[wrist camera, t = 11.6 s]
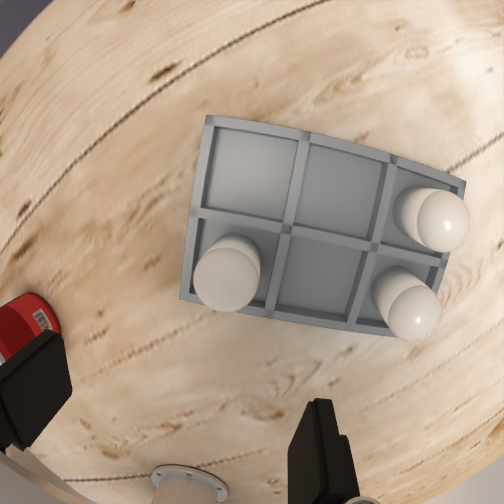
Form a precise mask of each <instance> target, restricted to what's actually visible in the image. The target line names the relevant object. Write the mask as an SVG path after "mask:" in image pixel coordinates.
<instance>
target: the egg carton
mask: <svg viewBox="0 0 504 504" xmlns="http://www.w3.org/2000/svg"><path fill="white" fill-rule="evenodd" d="M411 186H419V187H426V188H432V189H439V190H445V191H449V192H452V193H454V194H455V195H457V196H458V197H459V198H460V199H461V200H462V201H463V198H464V193H465V187H466V181H464V180H462V179H459V178H457V177H454V176H452V175H449V174H447V173H444V172H442V171H439V170H436V169H434V168H431V167H428V166H425V165H423V164H420V163H417V162H414V161H411V160H408V159H405V158H402V157H399V156H396V155H393V154H390V153H387V152H384V151H380V150H377V149H374V148H370V147H367V146H363V145H360V144H356V143H352V142H348V141H345V140H341V139H337V138H333V137H329V136H325V135H320V134H316V133H312V132H307V131H302V130H298V129H293V128H288V127H283V126H278V125H272V124H267V123H261V122H255V121H248V120H242V119H235V118H228V117H220V116H212V115H206V119H205V124H204V129H203V134H202V140H201V145H200V151H199V156H198V162H197V168H196V174H195V180H194V186H193V193H192V199H191V206H190V213H189V220H188V227H187V235H186V243H185V251H184V259H183V268H182V277H181V286H180V296H179V300H184V301H188V302H192V303H197V304H201V305H205V304H204V303H203V302H202V301H201V300H200V299H199V297H198V296H197V294H196V292H195V289H194V284H193V275H194V270H195V267H196V265H197V263H198V262H199V260H200V259H201V258H202V256H203V255H204V254H205V253H206V251H207V250H208V249H209V248H210V247H211V245H212V244H213V243H214V242H215V241H216V240H217V239H218V238H219V237H221V236H223V235H226V234H231V233H237V234H242V235H245V236H247V237H249V238H250V239H251V240H253V241H254V242H255V244H256V245H257V246H258V248H259V250H260V253H261V269H260V277H259V284H258V289H257V292H256V294H255V296H254V298H253V299H252V300H251V301H250V303H249V304H247V305H246V306H245V307H243V308H242V309H240V310H237V311H235V312H240V313H245V314H250V315H255V316H260V317H266V318H271V319H276V320H282V321H288V322H293V323H299V324H305V325H311V326H318V327H324V328H331V329H337V330H344V331H351V332H358V333H366V334H373V335H381V336H390V337H397V336H396V335H395V334H394V333H393V332H392V331H391V329H390V328H389V326H388V325H387V323H386V322H385V320H384V319H383V317H382V316H381V314H380V313H379V311H378V310H377V309H376V307H375V306H374V304H373V302H372V300H371V295H370V292H371V286H372V283H373V281H374V279H375V278H376V277H377V275H378V274H379V273H380V272H382V271H383V270H384V269H386V268H388V267H392V266H401V267H404V268H406V269H407V270H409V271H410V272H411V273H412V274H413V275H415V276H416V277H417V278H418V279H420V280H421V281H422V282H423V283H424V284H426V285H427V286H428V287H429V288H430V289H431V290H432V291H433V292H434V293H435V294H436V295H437V292H438V289H439V286H440V283H441V280H442V277H443V274H444V271H445V268H446V265H447V262H448V258H449V255H450V252H445V253H441V252H436V251H433V250H431V249H429V248H427V247H425V246H424V245H422V244H420V243H418V242H416V241H414V240H413V239H411V238H409V237H407V236H405V235H403V234H402V233H401V232H400V231H399V230H398V229H397V227H396V226H395V224H394V221H393V216H392V209H393V204H394V201H395V199H396V197H397V196H398V194H399V193H400V192H401V191H402V190H404V189H405V188H408V187H411Z"/></svg>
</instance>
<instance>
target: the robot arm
mask: <svg viewBox="0 0 504 504" xmlns="http://www.w3.org/2000/svg"><path fill="white" fill-rule="evenodd" d="M71 394H72V385H71V380H70V375H69V370H68V364H67V359H66V353H65V346H64V341H63V339H62V338H61V335H60V334H59V333H57V332H55V331H52V330H50V329H45V330H44V331H43V332H41V333H40V334H39V335H38V336H36V337H35V338H34V339H33V340H31V341H30V342H29V343H27V344H26V345H25V346H24V347H22V348H21V349H20V350H19V351H18V352H16V353H15V354H14V355H13V356H11V357H10V358H9V359H8V360H7V361H5V362H4V363H3V364H2V365H1V366H0V504H88V503H86V502H84V501H82V500H80V499H78V498H76V497H74V496H72V495H70V494H68V493H66V492H64V491H62V490H60V489H59V488H57V487H55V486H53V485H52V484H50V483H48V482H46V481H44V480H43V479H41V478H40V477H38V476H36V475H35V474H33V473H31V472H30V471H28V470H27V469H25V468H24V467H22V466H21V465H19V464H18V463H16V462H15V461H13V460H12V459H11V456H10V447H9V446H10V445H11V444H13V445H14V446H16V447H17V448H18V449H20V450H21V451H24V449H25V448H26V447H30V446H31V445H32V444H33V442H34V441H35V440H36V439H37V437H38V436H39V435H40V433H41V432H42V431H43V430H44V428H45V427H46V426H47V425H48V423H49V422H50V421H51V420H52V418H53V417H54V416H55V415H56V413H57V412H58V411H59V410H60V408H61V407H62V406H63V405H64V404H65V402H66V401H67V400H68V399H69V397H70V396H71ZM151 481H152V483H153V485H154V486H155V487H156V488H157V490H156V492H155V495H154V498H153V501H152V504H219V503H221V502H223V501H225V500H226V498H227V495H228V489H227V487H226V485H225V484H224V483H223V482H222V481H220V480H219V479H217V478H216V477H214V476H212V475H210V474H208V473H205V472H203V471H200V470H197V469H193V468H189V467H184V466H176V465H166V466H160V467H157V468H156V469H154V471H153V472H152V475H151ZM288 504H381V503H379V502H378V501H377V500H375V499H373V498H370V497H364V496H361V497H360V492H359V487H358V482H357V477H356V472H355V468H354V463H353V458H352V454H351V449H350V445H349V440H348V438H347V436H346V435H339V431H338V426H337V422H336V417H335V412H334V407H333V403H332V400H331V399H321V398H315V399H314V401H313V402H311V401H309V402H308V404H307V406H306V409H305V411H304V413H303V416H302V418H301V420H300V423H299V425H298V427H297V430H296V432H295V434H294V436H293V439H292V441H291V443H290V445H289V448H288Z"/></svg>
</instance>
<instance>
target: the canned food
mask: <svg viewBox="0 0 504 504" xmlns="http://www.w3.org/2000/svg"><path fill="white" fill-rule="evenodd" d="M45 329H50V330H52V331H55V332H57V333H59V334H60V327H59V323H58V321H57V318H56V316H55V314H54V312H53V311H52V309H51V308H50V306H49V305H48V304H47V303H46V302H45V301H44V300H43V299H42V298H40V297H39V296H37V295H35V294H31V293H29V294H22V295H20V296H19V297H17V298H15V299H14V300H12V301H10V302H8V303H7V304H5V305H3V306H2V307H0V366H1V365H2V364H3V363H4V362H5V361H7V360H8V359H9V358H10V357H11V356H13V355H14V354H15V353H16V352H18V351H19V350H20V349H21V348H22V347H24V346H25V345H26V344H27V343H29V342H30V341H31V340H33V339H34V338H35V337H36V336H38V335H39V334H40V333H41V332H43V331H44V330H45Z"/></svg>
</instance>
